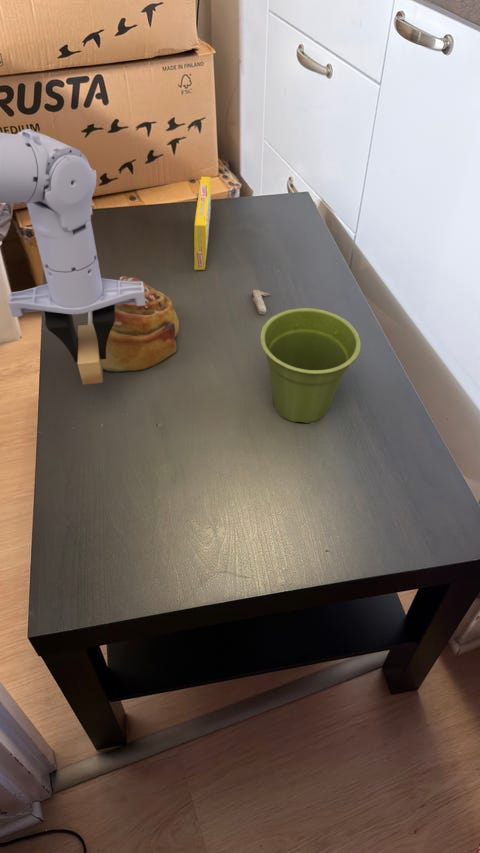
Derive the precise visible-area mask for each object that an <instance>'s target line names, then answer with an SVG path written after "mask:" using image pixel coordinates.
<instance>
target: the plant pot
mask: <svg viewBox="0 0 480 853" xmlns="http://www.w3.org/2000/svg"><path fill="white" fill-rule="evenodd" d="M259 337H260V338H259V339H260V344H261V348H262V349H263V351H264V352H265V355H266V359H267V360H266V361H267V362H268V367H269V368H268V369H269V375H270V376H269V377H270V385H271V391H272V392H271V393H272V401H273V406H274V408H275V410H276V412H277V413H278V414H279V415H280V416H281V417H282V418H283V419H285V420H287V421H289V422H293V423H305V424H311V423H314V422H316V421H320V419H322V418H323V417H324V416H325V415H326V414H327V413H328V410H329V408H330V406H331V404H332V401H333V400H334V397H335V394H336V392H337V390H338V387H339V386H340V384H341V381H342V379H343V377H344V374H345V373H346V372H347V371H348V368H349V367H350V365H351V364H352V363H354V361H355V360H356V359H357V357H358V356H359V354H360V351H361V346H362V345H361V344H362V343H361V339H360V336H359V333H358V331H357V330H356V329H355V327H353V325H352V324H351V323H350V322H349V321H347V320H346V319H345V318H343V317H341V316H340V315H337V314H335V313H333V312H330V311H327V310H324V309H318V308H310V307H301V308H293V309H287V310H284V311H281V312H279V313H277V314H275V315H273V316H272V317H270V318H269V319H268V320H267V321H266V322H265V323H264V324H263V326H262V328H261V331H260V336H259Z"/></svg>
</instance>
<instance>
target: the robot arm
mask: <svg viewBox="0 0 480 853" xmlns="http://www.w3.org/2000/svg"><path fill="white" fill-rule="evenodd" d="M97 178H98V177H97V170H95V169H93V168H92V167H91V165H90V163H89V160H88V159H87V157H86V155H85V154H84V153H82V151H81V150H79V149H77V148H75V147H73V146H70V145H68V144H66V143H64V142H62V141H60V140H57V139H55V138H52V137H51V136H48V135H46V134H44V133H41V132H37V131H34V130H33V129H32V128H25V129H22V130H20V131H19V132H18V133H16V134H15V133H9V132H0V204H21V205H26V207H27V211H28V214H29V219H30V222H31V225H32V226H31V227H32V230H33V234H34V237H35V242H36V245H37V249H38V252H39V256H40V260H41V264H42V268H43V273H44V276H45V280H46V283H45V284H42V285H39V286H35V287H32V288H31V287H30V288H28V289H24V290H18V291H11V292H9V294H8V295H9V296H8V306H9V309H10V313H11V316H12V317H13V318H18V317H23V315H24V313H36V312H43V313H44V318H45V320H44V323H45V327H46V329H47V330H48V331H49V332H50V333H52V334H53V335H54V336H56V337H57V339H59V341H61V343H62V344H63V345H64V346H65V347H66V349H67V350H68V352H69V353H70V355H71V357H72V358H73V360H74V362H75V363H78V332H77V331H76V328H75V324H74V318H73V315H82V314H83V315H84V314H88V312H91V311H92V316H93V326H94V329H95V332H96V336H97V340H98V348H99V355H100V359H106V345H107V340H108V337H109V334H110V331H111V329H112V327H113V325H114V322H115V304H127V303H135V304H136V306H144V305H146V304H145V295H144V287H143V282H144V281H143V280H140V281H139V282H129V281H120V280H119V279H111V278H103V277H102V274H101V270H100V263H99V258H98V252H97V247H96V241H95V235H94V229H93V224H92V220H91V219H92V215H93V214H94V213H93V208H92V199H93V196H94V193H95V190H96V188H97V187H96V186H97V180H98V179H97Z"/></svg>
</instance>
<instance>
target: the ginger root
mask: <svg viewBox="0 0 480 853" xmlns="http://www.w3.org/2000/svg"><path fill="white" fill-rule="evenodd" d="M252 295H253V298H252V299H251V300H252V301H253V303H254V305H255V307H256V309H257V311H258V314H260V315H266V314H267V307H266V304H265V301H264V298H263V296H264V297H268V296H271V294H270V293H268V292H264V291H262V290H259V289H253V290H252Z"/></svg>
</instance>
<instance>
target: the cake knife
mask: <svg viewBox="0 0 480 853" xmlns="http://www.w3.org/2000/svg"><path fill="white" fill-rule="evenodd" d="M77 337H78V362H77V367H78V370H79V375H80V379H81V384H82V385H93V384H102V383H104V372H103V371H104V369H103V362H102V359H100V355H99V348H98V340H97V336H96V332H95V329H94V326H93V316H92V311H91V312H87V324H81V325H78V326H77Z"/></svg>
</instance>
